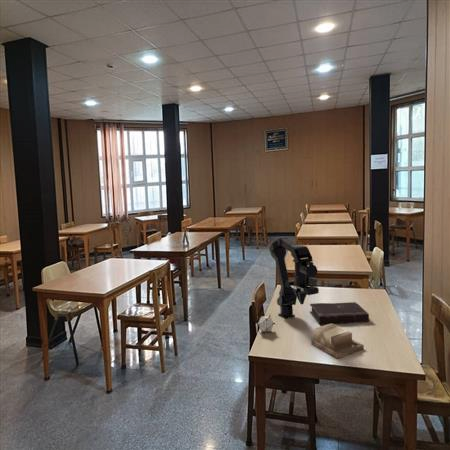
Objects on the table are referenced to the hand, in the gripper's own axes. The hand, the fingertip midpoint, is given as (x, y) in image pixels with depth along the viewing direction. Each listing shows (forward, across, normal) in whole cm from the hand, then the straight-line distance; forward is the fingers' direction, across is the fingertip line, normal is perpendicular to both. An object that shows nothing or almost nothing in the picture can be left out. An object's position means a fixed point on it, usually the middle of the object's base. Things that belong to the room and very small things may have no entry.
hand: (301, 304), depth 177 cm
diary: (+13, +2, -24) cm, 27 cm away
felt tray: (+13, -22, -1) cm, 26 cm away
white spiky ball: (+12, +6, +17) cm, 22 cm away
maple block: (+9, -14, -1) cm, 17 cm away
